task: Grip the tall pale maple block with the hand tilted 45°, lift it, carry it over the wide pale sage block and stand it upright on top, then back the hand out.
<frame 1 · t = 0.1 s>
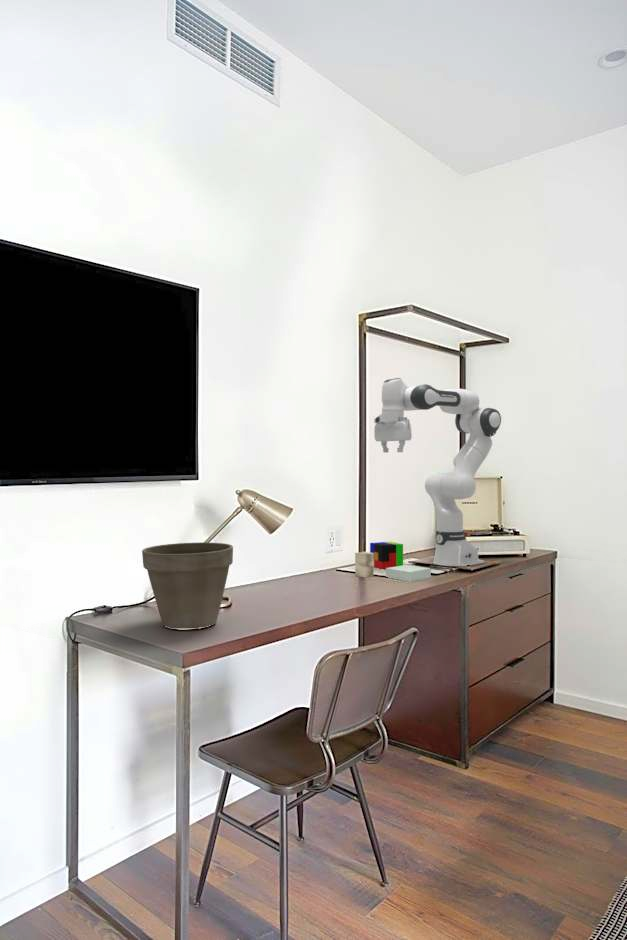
hand: (392, 452, 278), 48 cm above the table, tool pointing down, fingers open, 8 cm apart
maple block: (364, 576, 266), on the table
puzzle toy: (386, 567, 287), on the table
sage base block: (408, 578, 262), on the table
plant pot: (188, 625, 191), on the table
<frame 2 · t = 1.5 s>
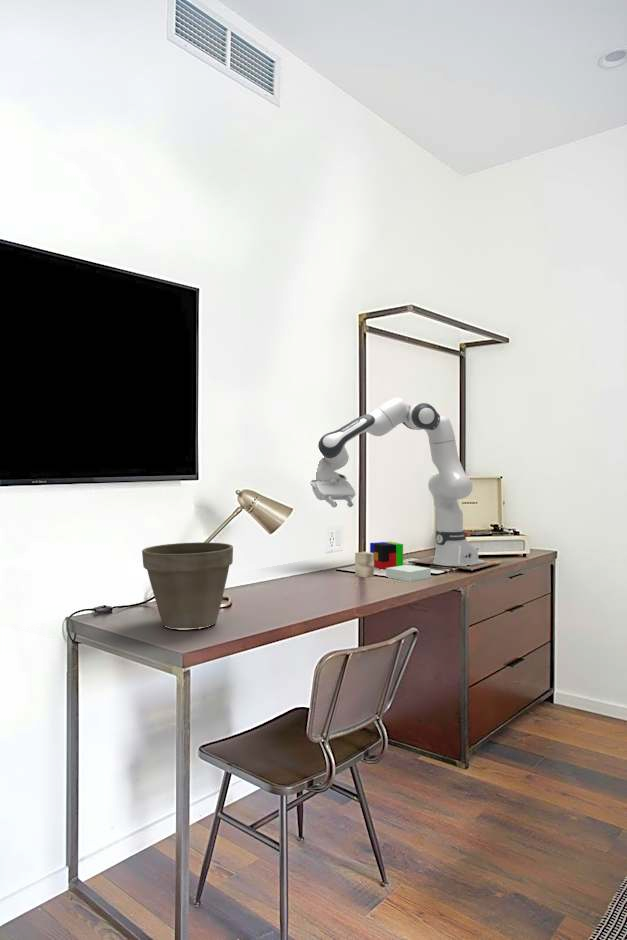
hand: (343, 506, 274), 27 cm above the table, tool tilted 45°, fingers open, 8 cm apart
nothing on the table moved.
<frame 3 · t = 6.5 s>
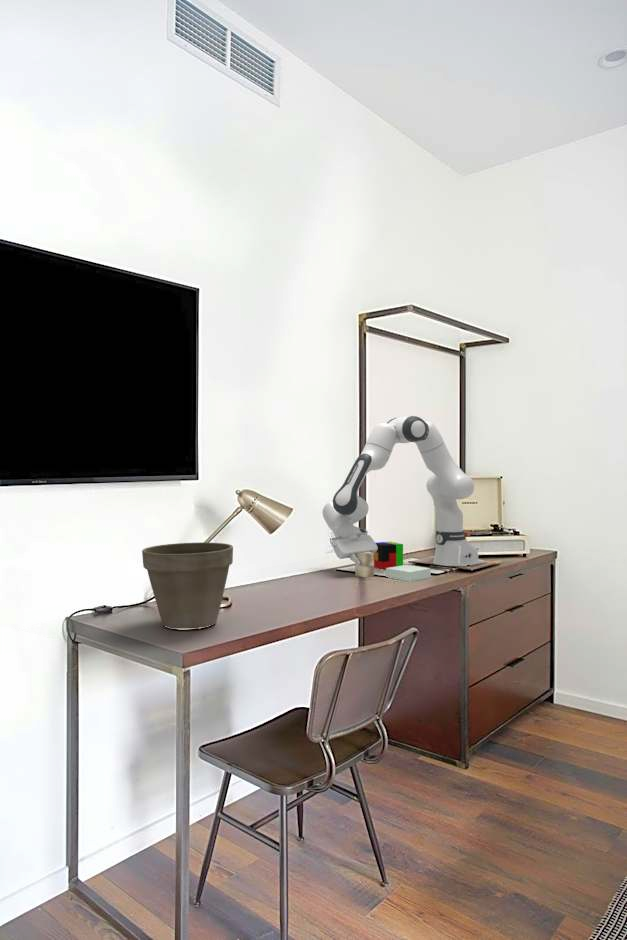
hand: (365, 563, 266), 5 cm above the table, tool tilted 45°, fingers closed on maple block, 5 cm apart
maple block: (364, 575, 266), on the table, touching gripper
everything else where it was.
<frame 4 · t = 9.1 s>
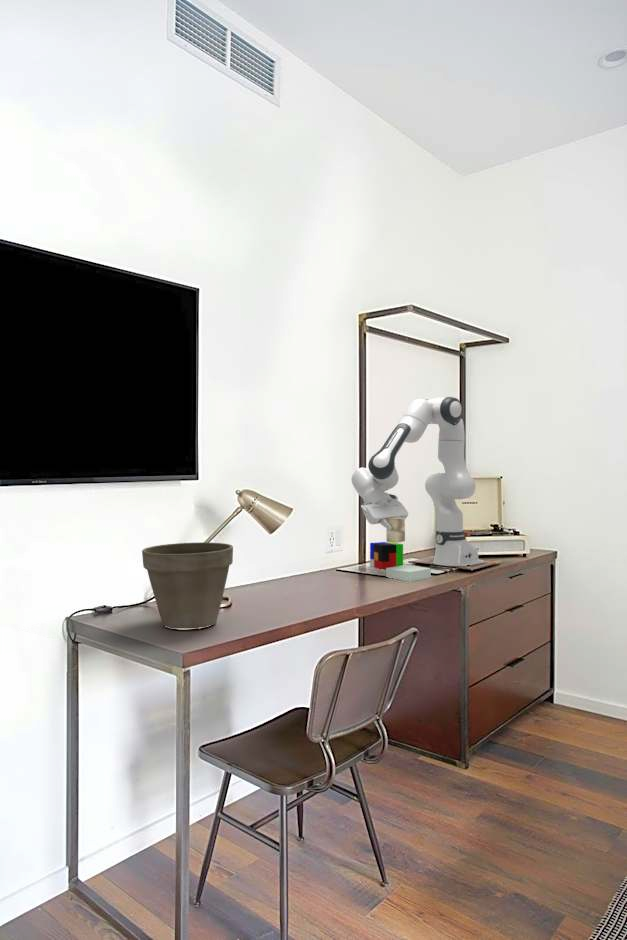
hand: (396, 528, 263), 19 cm above the table, tool tilted 45°, fingers closed on maple block, 5 cm apart
maple block: (395, 541, 263), point 14 cm above the table, touching gripper
everything else where it was.
when the fingers open (10 cm above the table, at t = 12.1 s): maple block drops 2 cm, resting on sage base block.
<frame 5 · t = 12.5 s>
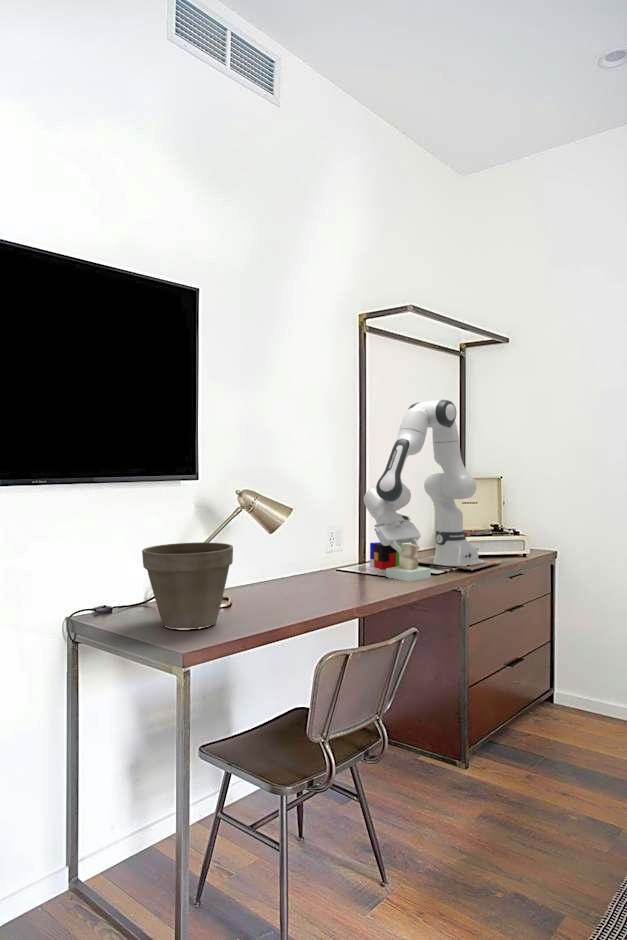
hand: (409, 550, 261), 10 cm above the table, tool tilted 45°, fingers open, 8 cm apart
maple block: (408, 568, 262), point 3 cm above the table, touching sage base block
sage base block: (408, 578, 262), on the table, touching maple block
everything else where it was.
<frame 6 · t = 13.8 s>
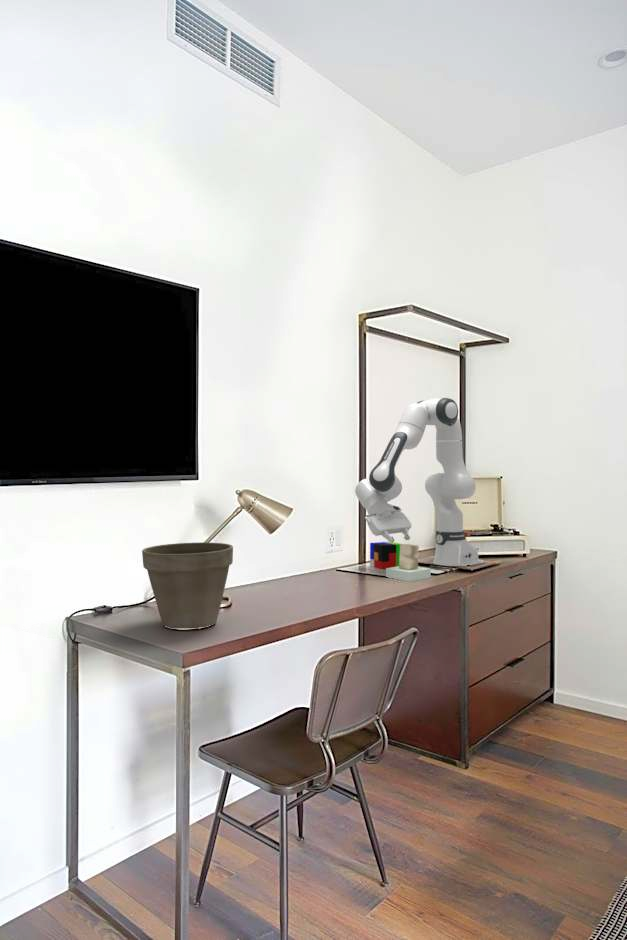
hand: (400, 540, 265), 14 cm above the table, tool tilted 45°, fingers open, 8 cm apart
maple block: (408, 568, 262), point 4 cm above the table
sage base block: (408, 578, 262), on the table
everything else where it was.
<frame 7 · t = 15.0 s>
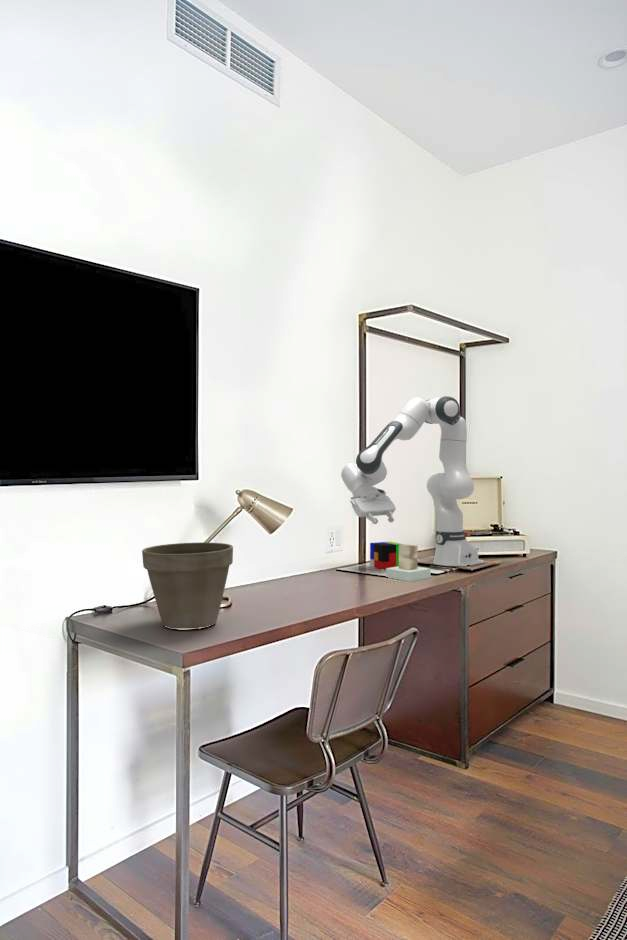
hand: (384, 522, 271), 20 cm above the table, tool tilted 45°, fingers open, 8 cm apart
maple block: (408, 568, 262), point 3 cm above the table, touching sage base block
sage base block: (408, 578, 262), on the table, touching maple block
everything else where it was.
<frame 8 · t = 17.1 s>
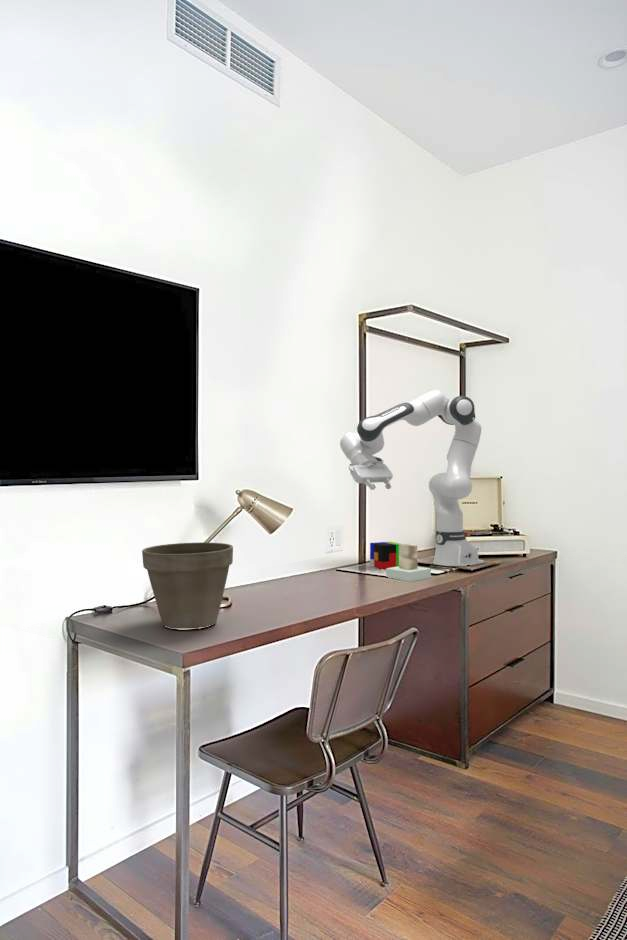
hand: (381, 488, 279), 33 cm above the table, tool tilted 45°, fingers open, 8 cm apart
maple block: (408, 568, 262), point 4 cm above the table
sage base block: (408, 578, 262), on the table
everything else where it was.
at the end: maple block inside the target area on the sage base block (0.2 cm from its centre), point 4.1 cm above the sage base block's base; maple block tilted 0°; the gripper is holding nothing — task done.
